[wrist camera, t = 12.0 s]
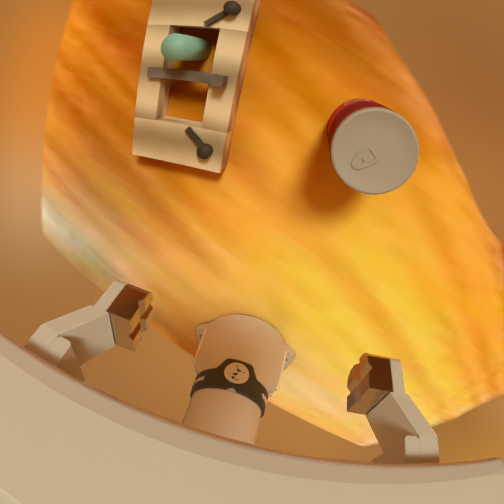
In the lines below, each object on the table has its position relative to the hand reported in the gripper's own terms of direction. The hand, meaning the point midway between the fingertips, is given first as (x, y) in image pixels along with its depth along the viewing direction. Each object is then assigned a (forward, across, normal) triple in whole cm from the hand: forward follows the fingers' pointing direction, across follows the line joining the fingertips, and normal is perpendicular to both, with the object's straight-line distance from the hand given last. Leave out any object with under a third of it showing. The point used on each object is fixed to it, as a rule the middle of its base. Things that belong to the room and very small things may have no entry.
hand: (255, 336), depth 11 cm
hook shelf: (+29, +14, -6) cm, 33 cm away
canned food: (+29, -6, -4) cm, 30 cm away
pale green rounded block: (+29, +14, -9) cm, 34 cm away
